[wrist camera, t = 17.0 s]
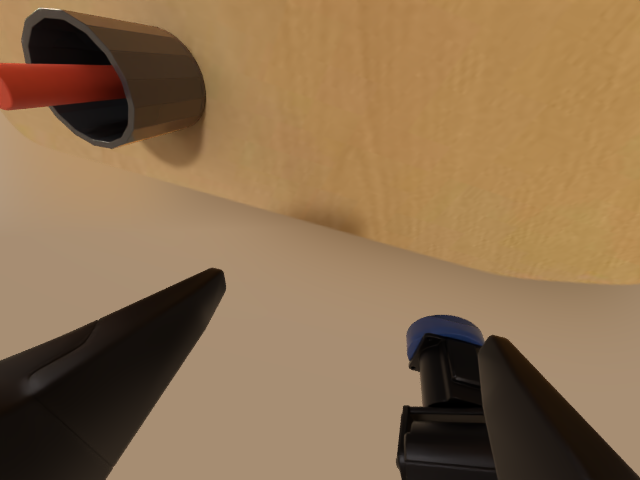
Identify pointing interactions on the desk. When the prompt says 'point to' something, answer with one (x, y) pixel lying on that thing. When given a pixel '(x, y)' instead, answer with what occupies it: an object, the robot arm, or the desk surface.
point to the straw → (56, 84)
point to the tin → (119, 75)
